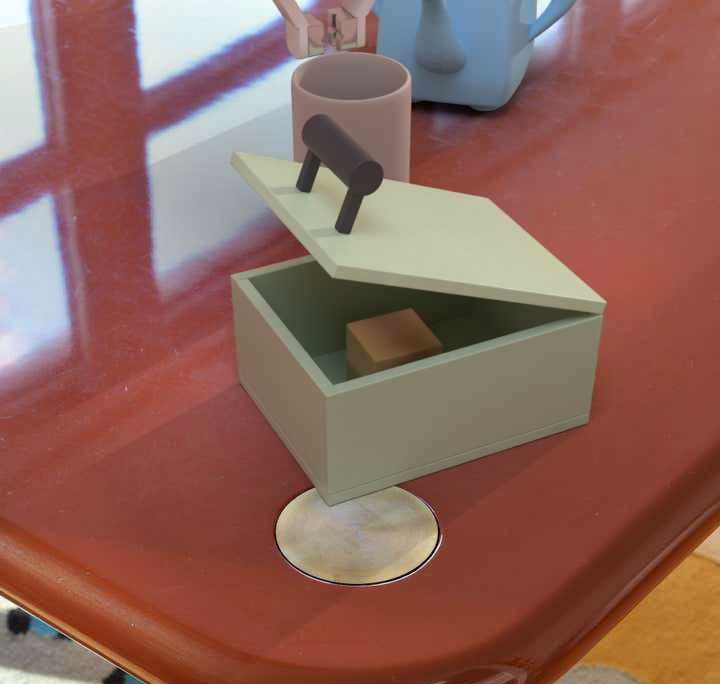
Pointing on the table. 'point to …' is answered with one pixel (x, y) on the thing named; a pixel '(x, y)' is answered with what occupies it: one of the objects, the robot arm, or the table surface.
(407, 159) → the mug
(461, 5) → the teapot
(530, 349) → the green hinged box
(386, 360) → the block
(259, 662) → the table surface
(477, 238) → the green box lid
